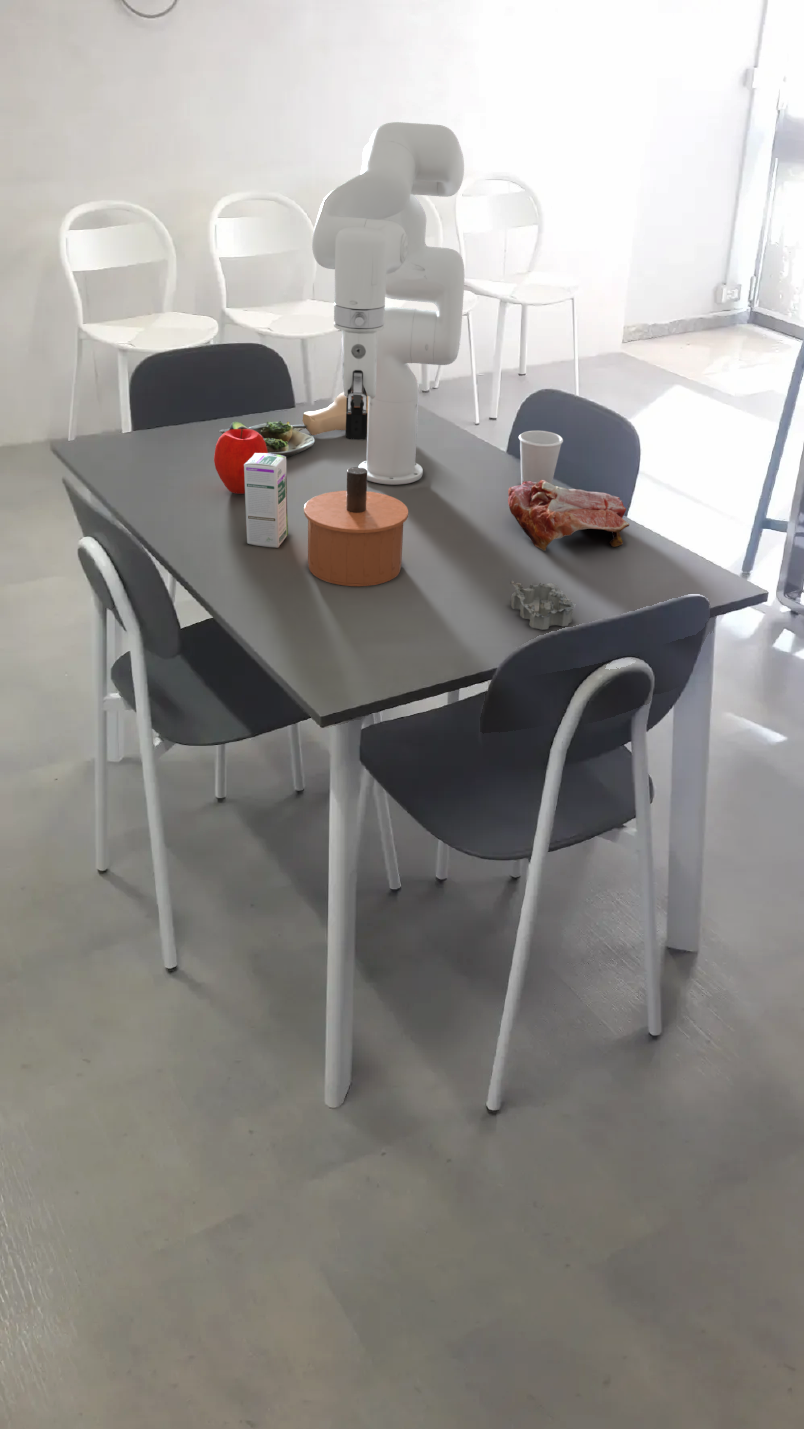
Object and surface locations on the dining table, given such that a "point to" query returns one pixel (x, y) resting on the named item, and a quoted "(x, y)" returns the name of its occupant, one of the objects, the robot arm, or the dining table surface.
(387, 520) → the lid
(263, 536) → the syrup box
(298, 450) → the salad plate
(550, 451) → the dixie cup
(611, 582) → the dining table surface
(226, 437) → the apple
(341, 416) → the squash
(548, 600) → the egg carton
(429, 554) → the dining table surface
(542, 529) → the meat
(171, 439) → the dining table surface
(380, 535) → the pot
